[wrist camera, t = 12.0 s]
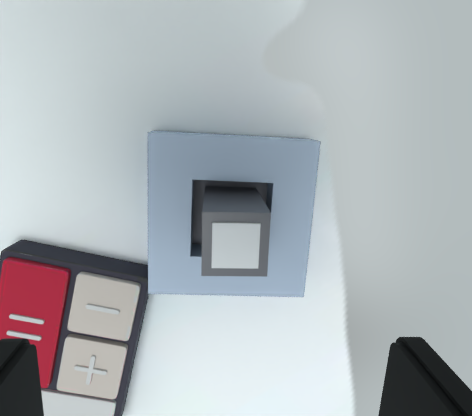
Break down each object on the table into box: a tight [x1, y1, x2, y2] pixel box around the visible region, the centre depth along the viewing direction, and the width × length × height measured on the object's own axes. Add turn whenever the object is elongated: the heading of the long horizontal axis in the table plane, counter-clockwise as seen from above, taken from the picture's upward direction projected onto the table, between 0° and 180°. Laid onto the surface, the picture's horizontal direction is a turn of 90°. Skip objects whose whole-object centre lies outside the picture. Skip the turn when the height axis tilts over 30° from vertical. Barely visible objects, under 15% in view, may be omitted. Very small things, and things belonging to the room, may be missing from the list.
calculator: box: [0, 240, 149, 416], centre depth 31 cm, size 11×4×15 cm
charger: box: [201, 186, 271, 277], centre depth 26 cm, size 4×4×8 cm
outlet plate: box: [148, 131, 320, 297], centre depth 29 cm, size 12×12×3 cm
